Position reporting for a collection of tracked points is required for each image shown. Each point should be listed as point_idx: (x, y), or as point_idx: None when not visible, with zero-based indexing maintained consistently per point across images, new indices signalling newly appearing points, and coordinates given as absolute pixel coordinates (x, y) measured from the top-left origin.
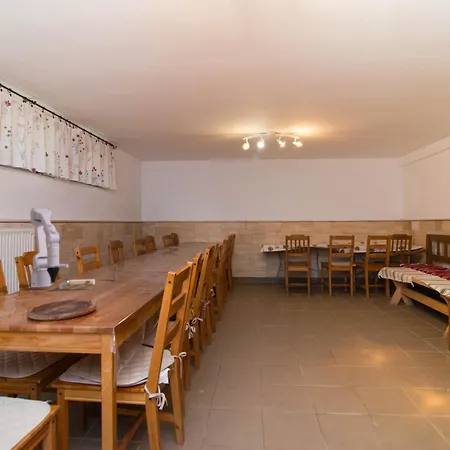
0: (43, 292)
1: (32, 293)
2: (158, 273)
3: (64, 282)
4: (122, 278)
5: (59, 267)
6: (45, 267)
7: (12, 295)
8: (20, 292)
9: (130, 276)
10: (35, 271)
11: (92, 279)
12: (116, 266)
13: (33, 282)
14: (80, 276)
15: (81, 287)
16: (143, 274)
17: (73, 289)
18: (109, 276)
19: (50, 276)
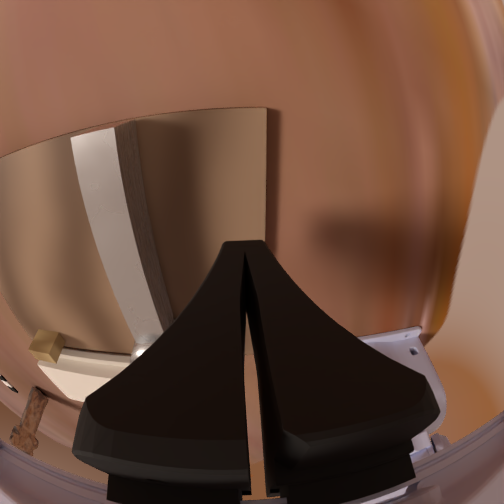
0: (295, 33)
1: (390, 17)
2: (43, 432)
3: (143, 313)
4: (65, 420)
5: (96, 493)
6: (445, 466)
7: (486, 14)
8: (481, 124)
9: (71, 432)
10: (429, 426)
11: (74, 397)
12: (10, 436)
13: (416, 357)
14: None
15: (9, 233)
16: (64, 438)
17: (20, 150)
18: None
19: (290, 291)
